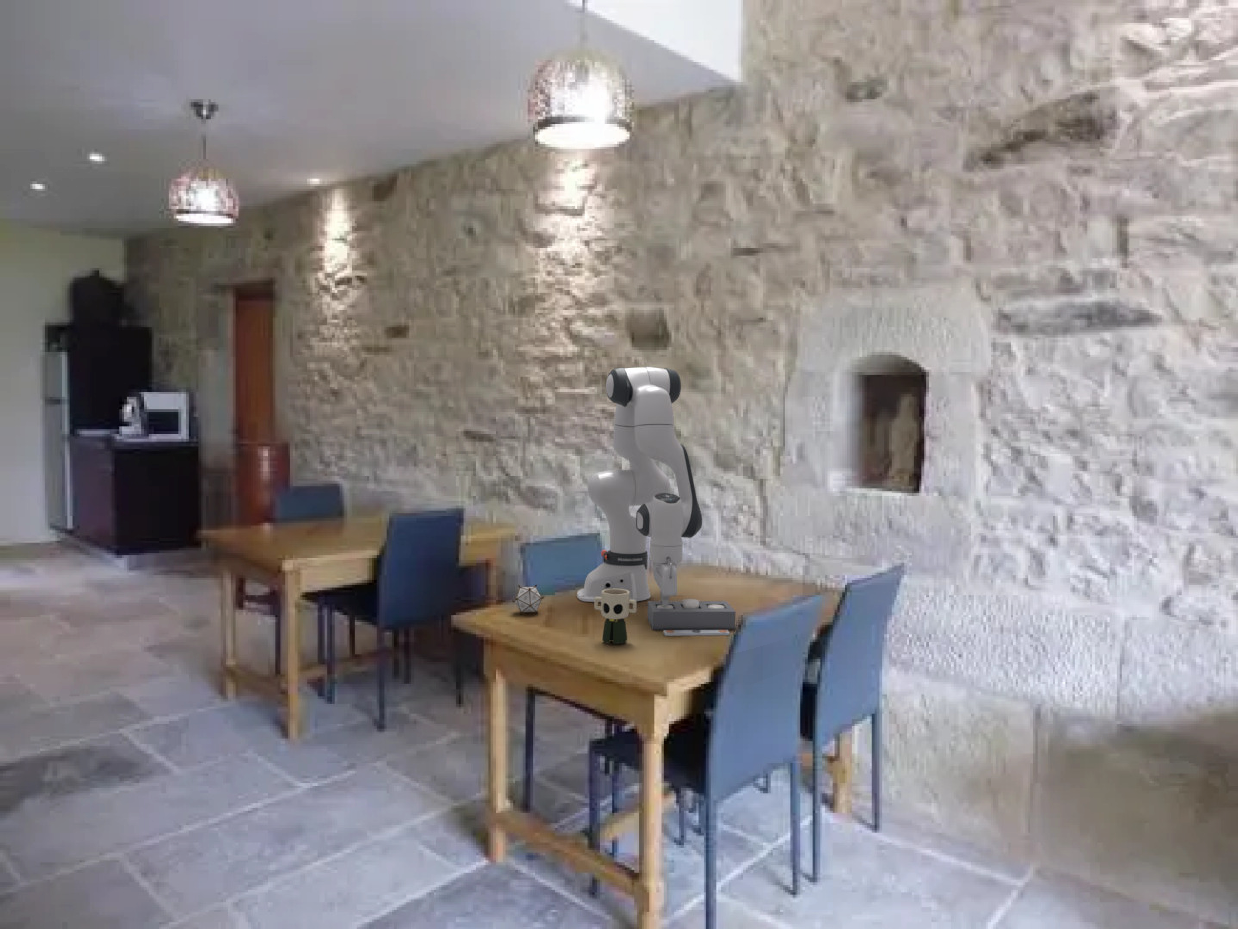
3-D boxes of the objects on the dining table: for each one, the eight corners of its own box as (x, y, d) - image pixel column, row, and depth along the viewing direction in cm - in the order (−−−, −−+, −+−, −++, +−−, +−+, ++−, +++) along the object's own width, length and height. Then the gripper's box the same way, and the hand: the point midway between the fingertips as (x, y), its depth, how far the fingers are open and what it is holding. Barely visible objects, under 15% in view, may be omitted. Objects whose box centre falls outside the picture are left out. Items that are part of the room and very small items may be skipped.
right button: (709, 619, 241) (709, 608, 240) (706, 615, 245) (706, 604, 245) (725, 619, 241) (725, 608, 241) (722, 615, 245) (722, 604, 245)
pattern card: (664, 635, 231) (664, 632, 231) (663, 632, 234) (663, 629, 234) (729, 635, 232) (729, 632, 232) (727, 632, 235) (727, 629, 235)
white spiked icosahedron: (520, 626, 252) (500, 597, 252) (542, 611, 257) (523, 582, 258) (533, 617, 245) (512, 587, 246) (555, 602, 250) (535, 572, 251)
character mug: (589, 644, 222) (590, 592, 221) (597, 637, 229) (598, 586, 228) (632, 648, 219) (633, 596, 218) (639, 640, 226) (640, 590, 225)
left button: (657, 619, 239) (658, 608, 239) (655, 615, 244) (656, 604, 243) (674, 619, 240) (674, 608, 240) (671, 615, 244) (671, 604, 244)
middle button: (683, 613, 240) (684, 602, 240) (681, 609, 244) (681, 599, 244) (700, 613, 240) (700, 602, 240) (697, 609, 245) (697, 598, 244)
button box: (652, 630, 236) (653, 611, 235) (647, 619, 247) (647, 601, 247) (735, 630, 238) (735, 611, 237) (725, 618, 249) (726, 601, 249)
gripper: (683, 562, 230) (682, 614, 232) (672, 547, 251) (670, 596, 252) (659, 562, 230) (658, 614, 231) (649, 547, 250) (648, 596, 251)
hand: (664, 604), depth 242 cm, fingers closed
